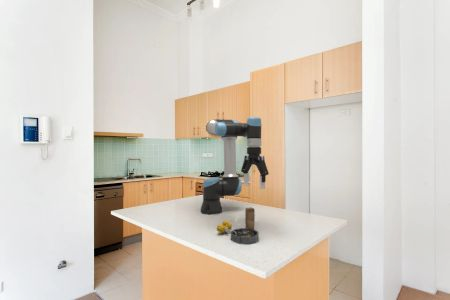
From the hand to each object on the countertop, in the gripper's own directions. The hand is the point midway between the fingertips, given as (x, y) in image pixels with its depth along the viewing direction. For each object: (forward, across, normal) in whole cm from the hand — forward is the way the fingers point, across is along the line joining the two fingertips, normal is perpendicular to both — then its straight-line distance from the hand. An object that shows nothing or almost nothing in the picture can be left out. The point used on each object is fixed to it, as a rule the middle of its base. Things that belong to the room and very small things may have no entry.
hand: (253, 187), depth 129 cm
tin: (+23, +7, -11) cm, 27 cm away
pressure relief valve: (+23, -2, -14) cm, 27 cm away
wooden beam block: (+23, -1, -2) cm, 23 cm away
